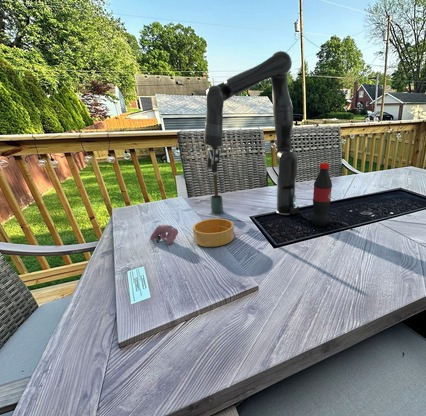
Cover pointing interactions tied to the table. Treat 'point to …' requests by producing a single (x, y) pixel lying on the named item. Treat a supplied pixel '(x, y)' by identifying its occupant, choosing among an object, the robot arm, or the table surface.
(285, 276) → the table surface
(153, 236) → the video game controller
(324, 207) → the cola bottle
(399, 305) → the table surface
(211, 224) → the bowl
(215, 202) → the holder
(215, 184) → the stick
